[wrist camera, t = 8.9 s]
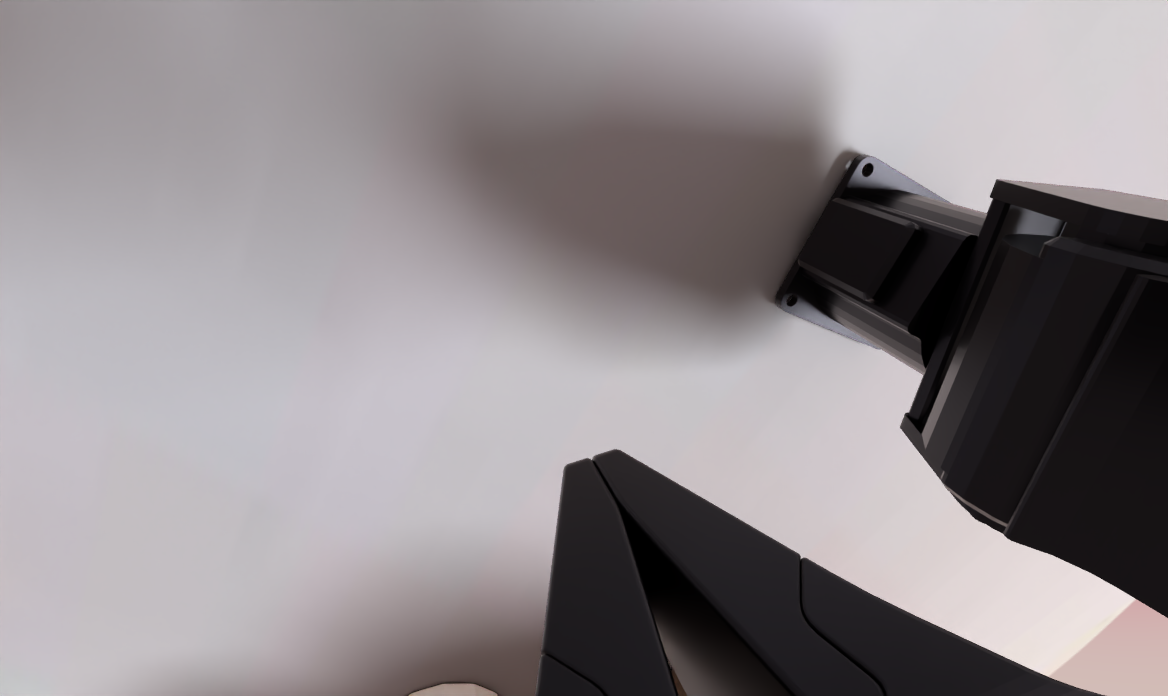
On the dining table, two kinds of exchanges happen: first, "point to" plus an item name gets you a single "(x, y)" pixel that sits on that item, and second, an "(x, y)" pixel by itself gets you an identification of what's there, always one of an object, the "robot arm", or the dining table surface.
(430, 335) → the dining table surface
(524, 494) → the dining table surface
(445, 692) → the white cup
